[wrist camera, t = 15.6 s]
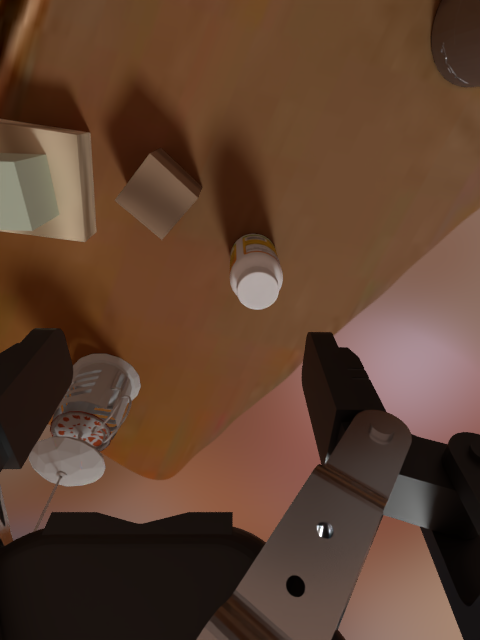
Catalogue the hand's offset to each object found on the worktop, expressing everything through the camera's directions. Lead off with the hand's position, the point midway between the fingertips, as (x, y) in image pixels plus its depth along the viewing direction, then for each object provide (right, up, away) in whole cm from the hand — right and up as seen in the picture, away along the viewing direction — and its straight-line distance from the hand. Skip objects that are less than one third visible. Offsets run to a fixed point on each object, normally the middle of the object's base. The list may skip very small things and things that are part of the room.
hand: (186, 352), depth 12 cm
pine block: (-19, +16, +26) cm, 36 cm away
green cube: (-19, +14, +22) cm, 32 cm away
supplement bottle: (+3, +9, +30) cm, 31 cm away
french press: (-17, -7, +39) cm, 43 cm away
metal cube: (-6, +15, +26) cm, 31 cm away
